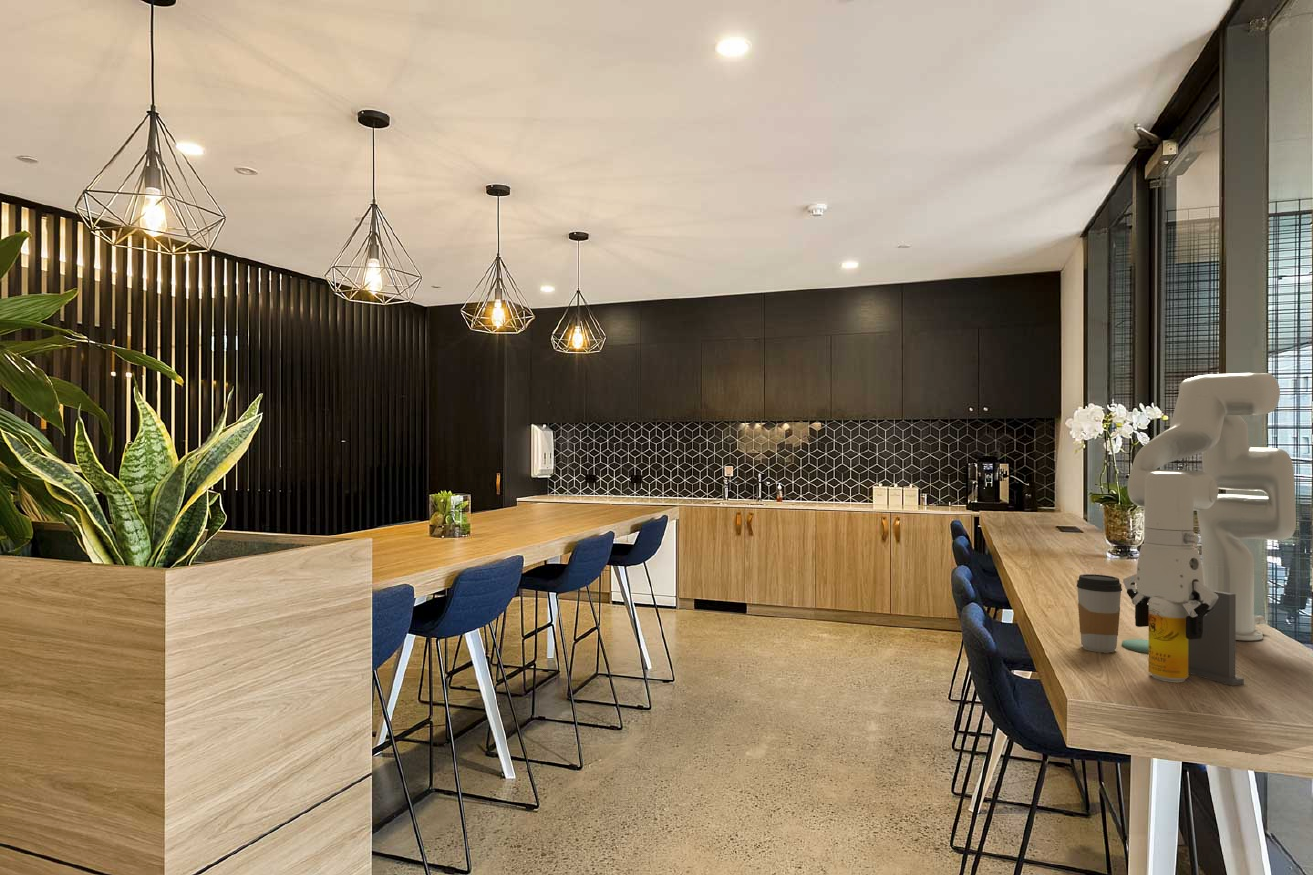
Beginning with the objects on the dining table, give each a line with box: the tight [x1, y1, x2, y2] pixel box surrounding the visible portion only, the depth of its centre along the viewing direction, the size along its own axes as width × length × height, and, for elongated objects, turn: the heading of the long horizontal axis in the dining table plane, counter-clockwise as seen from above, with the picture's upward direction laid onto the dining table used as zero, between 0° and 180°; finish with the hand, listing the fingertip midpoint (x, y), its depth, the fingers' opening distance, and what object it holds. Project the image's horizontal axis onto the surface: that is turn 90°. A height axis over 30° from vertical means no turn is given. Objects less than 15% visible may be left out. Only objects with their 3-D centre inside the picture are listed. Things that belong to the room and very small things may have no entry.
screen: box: [1188, 590, 1245, 687], centre depth 144 cm, size 3×15×16 cm, turn 19°
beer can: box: [1148, 596, 1189, 683], centre depth 141 cm, size 6×6×15 cm
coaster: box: [1121, 638, 1149, 655], centre depth 161 cm, size 10×10×1 cm
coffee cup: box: [1076, 573, 1123, 654], centre depth 161 cm, size 8×8×15 cm
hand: (1167, 632), depth 141 cm, fingers open, 9 cm apart
